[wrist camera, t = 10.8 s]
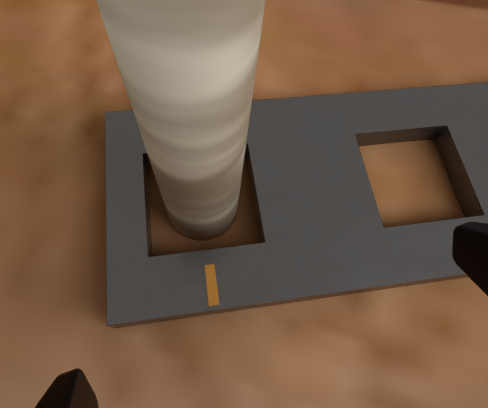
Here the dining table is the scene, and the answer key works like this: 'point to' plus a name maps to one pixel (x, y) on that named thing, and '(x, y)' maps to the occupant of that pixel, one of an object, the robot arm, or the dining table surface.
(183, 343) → the dining table surface
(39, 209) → the dining table surface
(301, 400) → the dining table surface
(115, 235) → the steel plate
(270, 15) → the dining table surface
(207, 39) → the birch peg
